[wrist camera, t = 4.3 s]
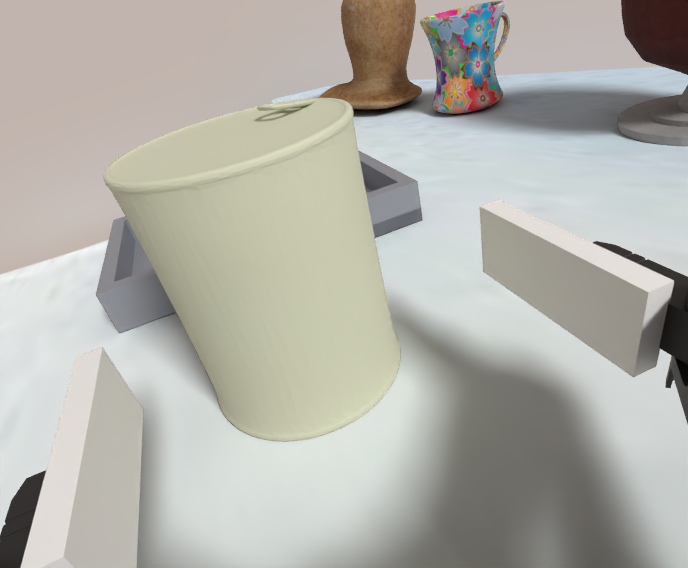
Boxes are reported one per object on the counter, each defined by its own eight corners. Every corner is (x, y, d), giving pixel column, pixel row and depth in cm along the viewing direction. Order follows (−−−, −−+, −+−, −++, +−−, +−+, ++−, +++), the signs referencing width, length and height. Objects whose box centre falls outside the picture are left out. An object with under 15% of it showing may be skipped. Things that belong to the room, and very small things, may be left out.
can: (438, 339, 22) (404, 77, 16) (305, 482, 17) (176, 181, 11) (310, 293, 28) (248, 90, 22) (184, 389, 23) (55, 160, 17)
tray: (119, 333, 29) (95, 295, 27) (129, 250, 40) (113, 220, 39) (422, 219, 33) (417, 181, 31) (353, 174, 45) (346, 144, 43)
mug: (466, 122, 51) (459, 16, 46) (415, 115, 59) (403, 23, 53) (539, 92, 55) (540, -9, 50) (482, 89, 63) (478, 1, 57)
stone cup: (443, 94, 66) (431, -29, 58) (384, 120, 60) (363, -11, 52) (373, 94, 77) (356, -9, 69) (319, 115, 71) (293, 7, 63)
